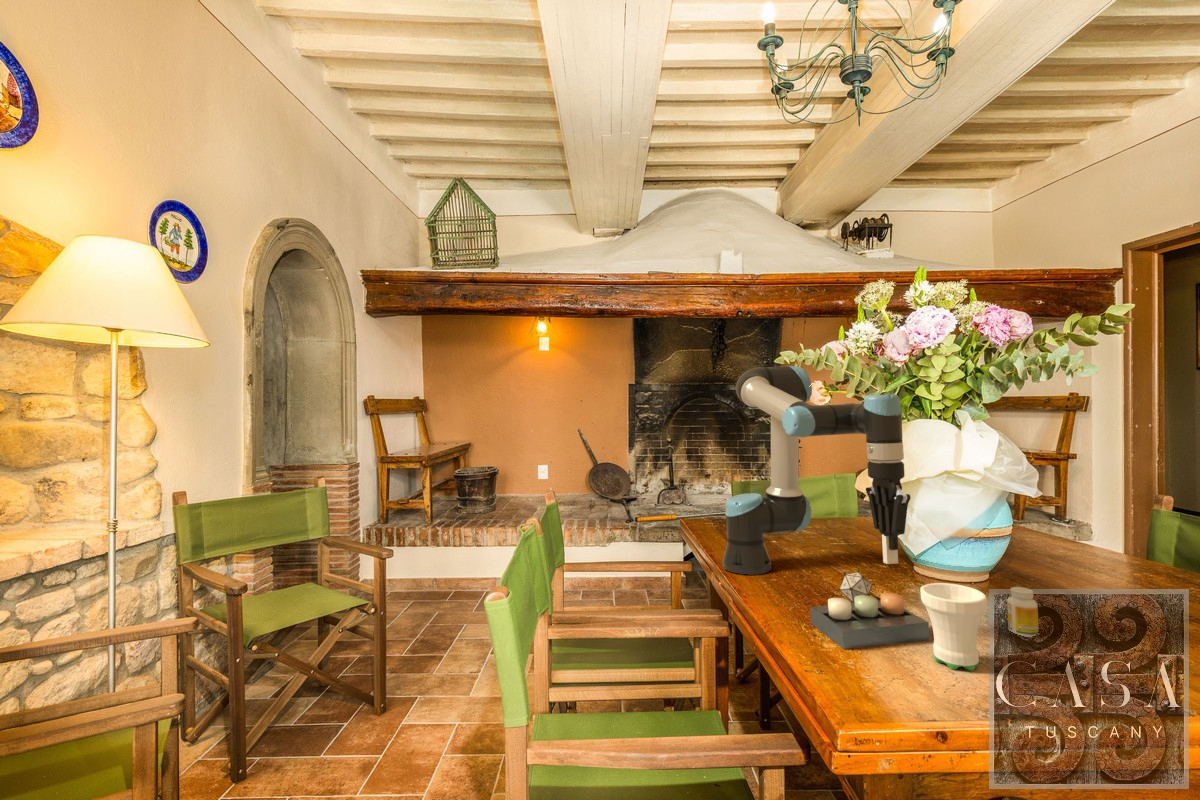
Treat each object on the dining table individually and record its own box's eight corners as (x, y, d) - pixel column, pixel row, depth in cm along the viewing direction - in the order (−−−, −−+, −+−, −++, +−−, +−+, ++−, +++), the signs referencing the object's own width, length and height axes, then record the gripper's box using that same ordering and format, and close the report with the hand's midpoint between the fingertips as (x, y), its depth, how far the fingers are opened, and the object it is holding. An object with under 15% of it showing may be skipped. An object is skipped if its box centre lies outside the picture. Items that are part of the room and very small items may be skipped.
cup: (959, 681, 102) (955, 605, 102) (910, 655, 113) (907, 587, 113) (1004, 670, 105) (1000, 597, 105) (952, 646, 116) (949, 579, 116)
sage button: (850, 610, 127) (850, 596, 127) (869, 608, 128) (869, 594, 128) (863, 617, 122) (862, 603, 122) (882, 615, 123) (882, 601, 123)
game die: (865, 618, 141) (882, 595, 135) (832, 606, 143) (847, 582, 137) (863, 591, 148) (879, 568, 143) (831, 579, 150) (846, 556, 144)
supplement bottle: (1002, 629, 123) (1000, 587, 123) (1020, 626, 124) (1018, 584, 124) (1026, 639, 117) (1024, 595, 117) (1045, 635, 119) (1043, 592, 119)
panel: (811, 623, 131) (810, 607, 131) (888, 616, 133) (887, 599, 133) (843, 649, 117) (842, 630, 117) (929, 640, 119) (928, 622, 119)
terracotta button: (876, 607, 128) (875, 593, 128) (895, 605, 128) (894, 592, 128) (889, 615, 123) (889, 601, 123) (909, 613, 124) (908, 599, 124)
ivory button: (824, 612, 126) (823, 598, 126) (843, 610, 127) (843, 596, 127) (835, 620, 121) (835, 606, 121) (855, 618, 122) (855, 604, 122)
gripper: (853, 459, 132) (859, 556, 132) (888, 464, 119) (894, 572, 119) (882, 457, 133) (887, 554, 133) (919, 462, 120) (925, 569, 120)
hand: (890, 562), depth 126 cm, fingers closed
